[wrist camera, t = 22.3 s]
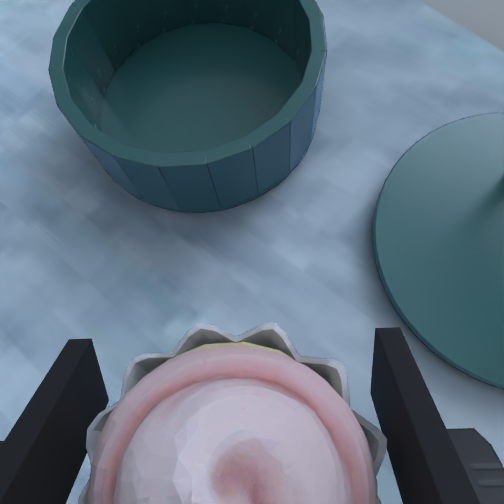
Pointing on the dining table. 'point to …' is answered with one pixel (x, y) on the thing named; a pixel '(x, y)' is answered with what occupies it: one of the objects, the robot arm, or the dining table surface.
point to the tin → (192, 93)
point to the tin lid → (449, 243)
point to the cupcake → (233, 428)
